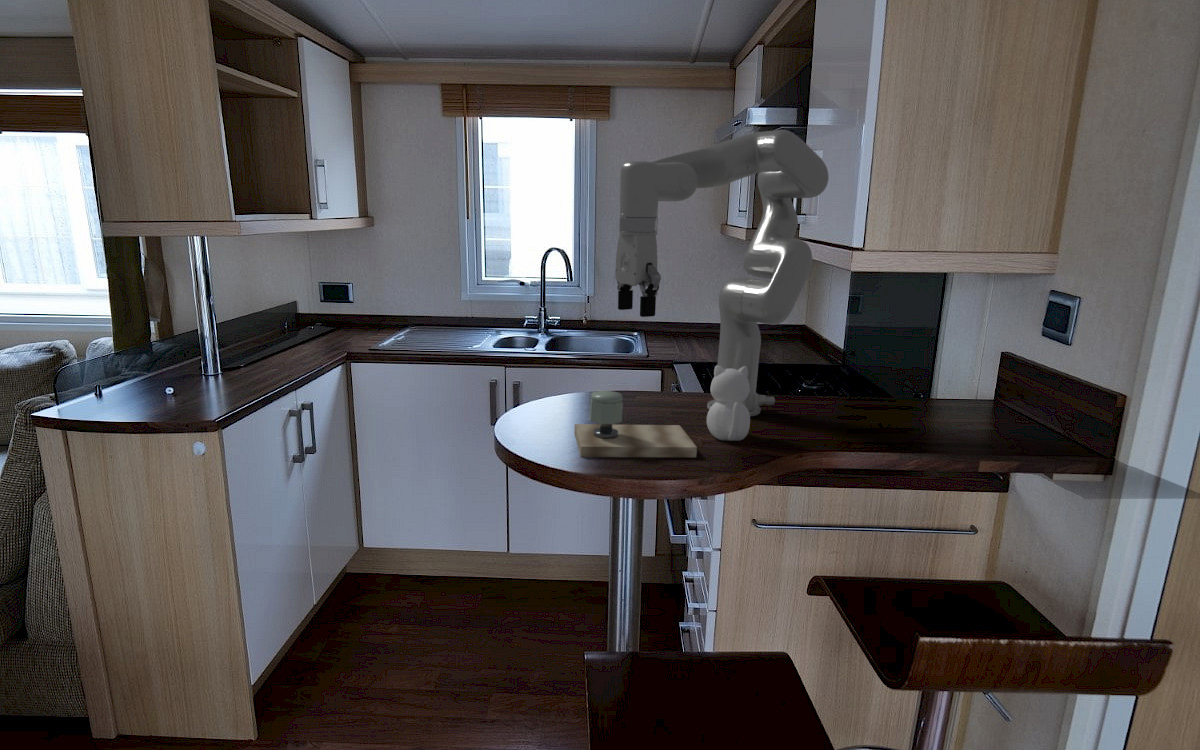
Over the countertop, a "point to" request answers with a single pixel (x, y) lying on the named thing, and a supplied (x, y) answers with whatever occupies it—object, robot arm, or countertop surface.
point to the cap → (606, 407)
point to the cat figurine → (729, 404)
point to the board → (635, 441)
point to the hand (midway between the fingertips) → (636, 312)
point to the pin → (605, 432)
